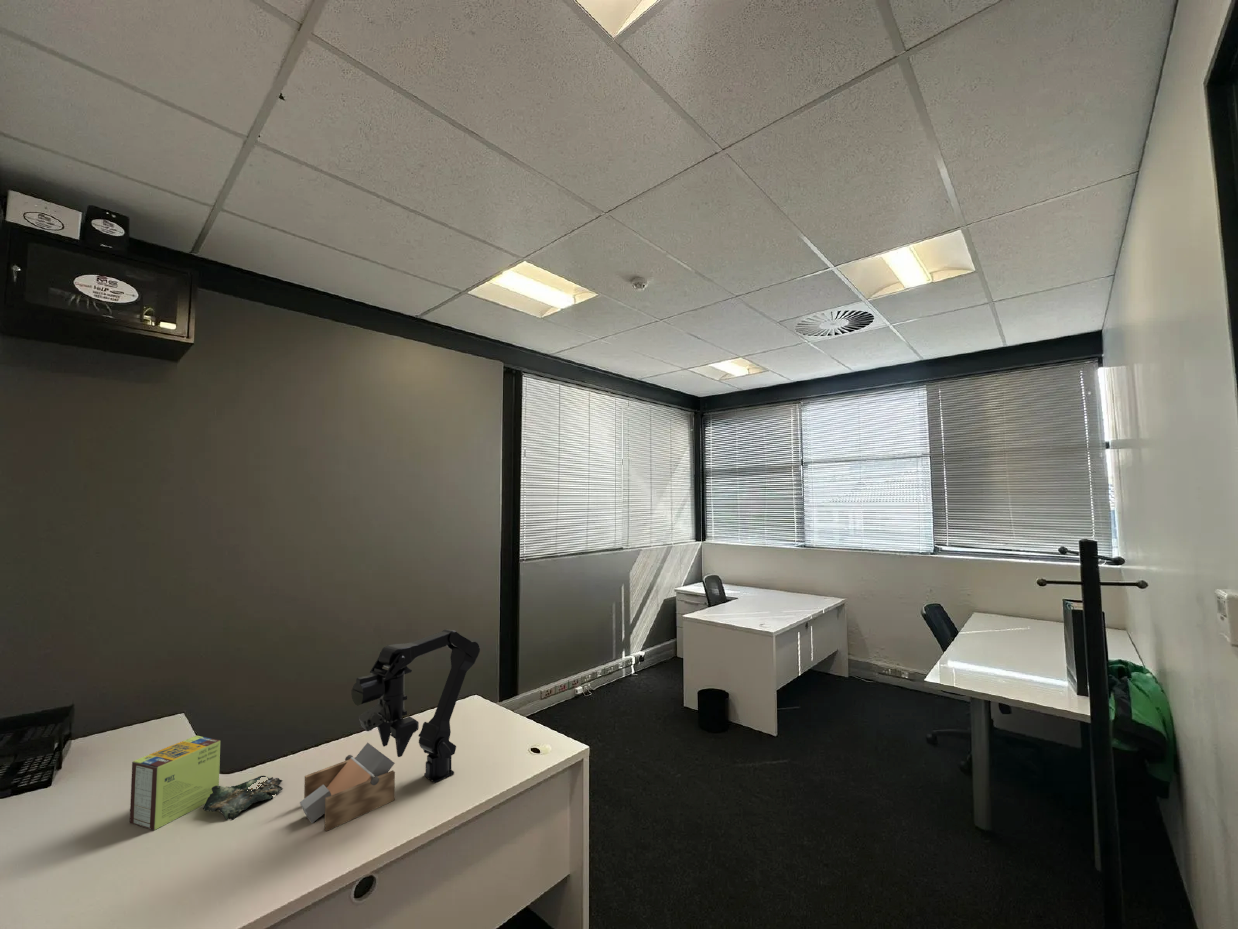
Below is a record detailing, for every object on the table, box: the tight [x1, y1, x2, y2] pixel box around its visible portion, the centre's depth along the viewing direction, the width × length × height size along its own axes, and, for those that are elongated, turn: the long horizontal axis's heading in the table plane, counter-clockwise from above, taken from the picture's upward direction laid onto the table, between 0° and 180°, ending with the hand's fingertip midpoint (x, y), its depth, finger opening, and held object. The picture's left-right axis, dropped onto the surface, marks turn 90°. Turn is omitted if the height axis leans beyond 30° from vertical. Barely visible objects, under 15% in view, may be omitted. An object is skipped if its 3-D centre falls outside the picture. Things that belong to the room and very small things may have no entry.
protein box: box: [129, 735, 221, 831], centre depth 137 cm, size 10×15×16 cm
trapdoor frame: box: [303, 754, 396, 832], centre depth 138 cm, size 17×18×8 cm
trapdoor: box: [327, 742, 396, 795], centre depth 140 cm, size 15×14×4 cm
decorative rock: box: [202, 775, 284, 821], centre depth 141 cm, size 19×6×15 cm
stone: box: [299, 785, 331, 824], centre depth 132 cm, size 4×4×6 cm
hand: (392, 751), depth 139 cm, fingers open, 9 cm apart
